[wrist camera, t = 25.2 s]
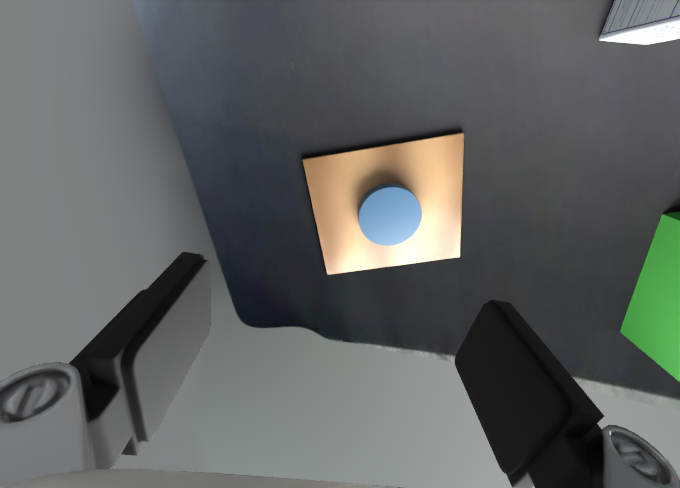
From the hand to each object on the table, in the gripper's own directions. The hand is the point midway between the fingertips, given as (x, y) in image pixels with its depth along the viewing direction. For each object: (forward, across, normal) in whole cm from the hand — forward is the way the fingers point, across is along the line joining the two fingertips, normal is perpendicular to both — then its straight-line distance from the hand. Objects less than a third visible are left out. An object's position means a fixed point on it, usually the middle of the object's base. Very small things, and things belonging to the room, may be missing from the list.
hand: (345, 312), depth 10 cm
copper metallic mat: (+22, -6, +4) cm, 23 cm away
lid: (+20, -6, +4) cm, 22 cm away
